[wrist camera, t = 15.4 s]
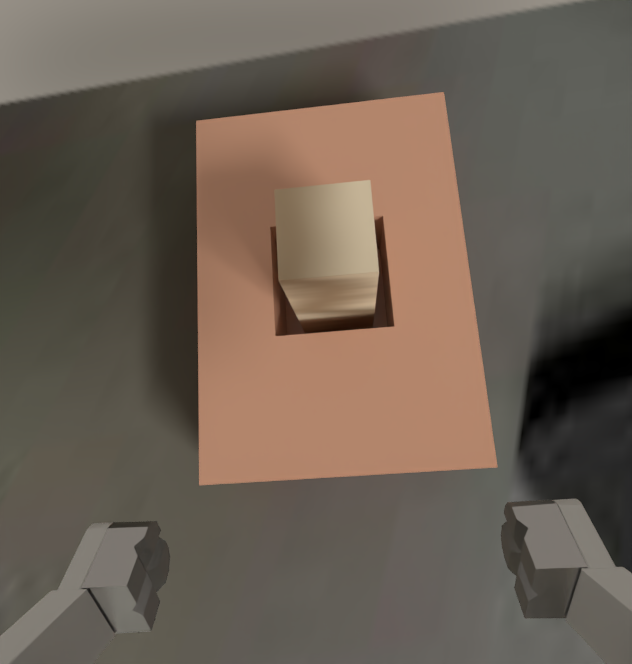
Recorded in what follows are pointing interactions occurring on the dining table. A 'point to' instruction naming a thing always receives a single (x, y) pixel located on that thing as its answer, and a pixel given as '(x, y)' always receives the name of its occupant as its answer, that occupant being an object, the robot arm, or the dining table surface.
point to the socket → (338, 346)
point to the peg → (328, 254)
